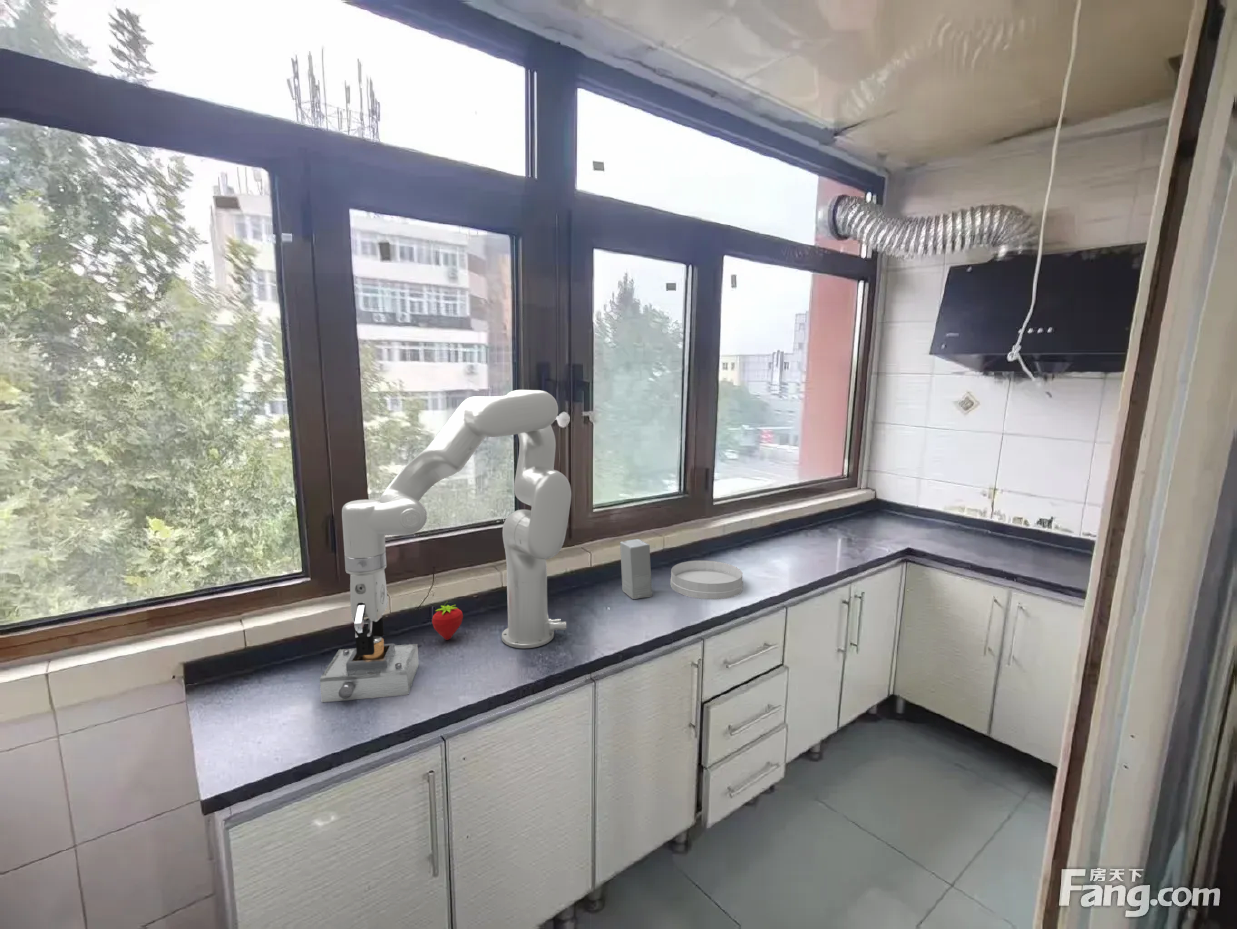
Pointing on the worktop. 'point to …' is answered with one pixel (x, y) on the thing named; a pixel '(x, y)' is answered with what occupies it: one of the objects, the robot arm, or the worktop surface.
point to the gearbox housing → (369, 674)
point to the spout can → (376, 649)
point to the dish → (706, 579)
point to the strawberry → (447, 620)
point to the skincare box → (636, 568)
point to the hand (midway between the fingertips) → (370, 644)
